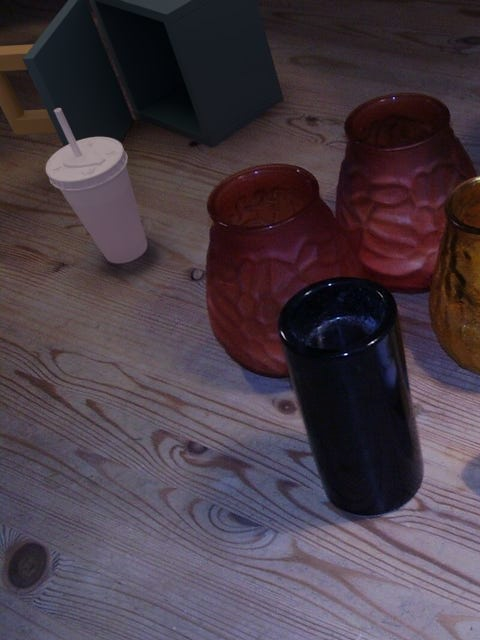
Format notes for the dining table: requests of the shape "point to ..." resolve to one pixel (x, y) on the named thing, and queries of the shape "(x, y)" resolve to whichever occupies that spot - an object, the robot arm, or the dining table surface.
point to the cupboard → (191, 63)
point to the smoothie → (99, 192)
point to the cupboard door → (67, 80)
